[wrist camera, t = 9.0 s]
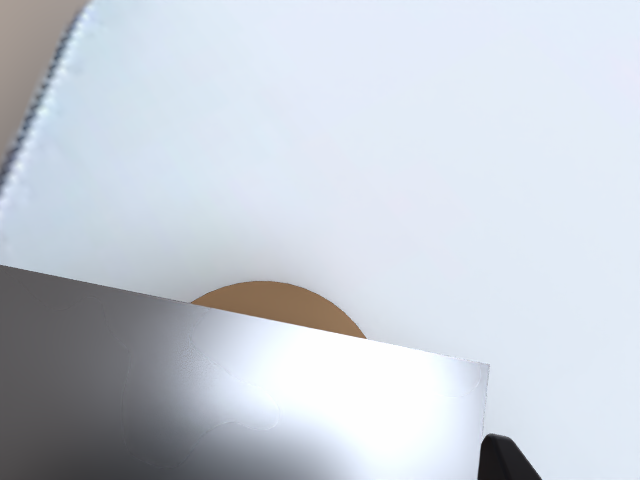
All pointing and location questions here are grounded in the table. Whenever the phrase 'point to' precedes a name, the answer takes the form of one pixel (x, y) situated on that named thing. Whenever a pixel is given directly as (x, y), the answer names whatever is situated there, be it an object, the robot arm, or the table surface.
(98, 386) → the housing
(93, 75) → the table surface
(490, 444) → the robot arm
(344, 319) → the stand
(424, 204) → the table surface
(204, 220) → the table surface
